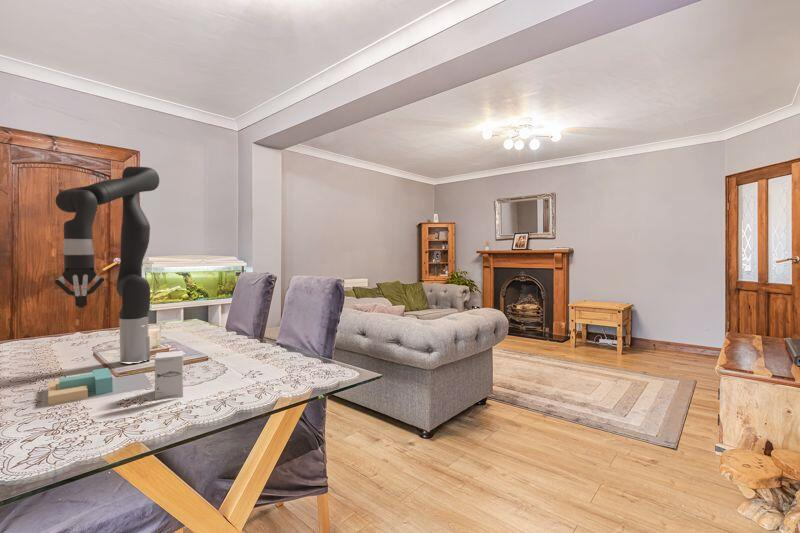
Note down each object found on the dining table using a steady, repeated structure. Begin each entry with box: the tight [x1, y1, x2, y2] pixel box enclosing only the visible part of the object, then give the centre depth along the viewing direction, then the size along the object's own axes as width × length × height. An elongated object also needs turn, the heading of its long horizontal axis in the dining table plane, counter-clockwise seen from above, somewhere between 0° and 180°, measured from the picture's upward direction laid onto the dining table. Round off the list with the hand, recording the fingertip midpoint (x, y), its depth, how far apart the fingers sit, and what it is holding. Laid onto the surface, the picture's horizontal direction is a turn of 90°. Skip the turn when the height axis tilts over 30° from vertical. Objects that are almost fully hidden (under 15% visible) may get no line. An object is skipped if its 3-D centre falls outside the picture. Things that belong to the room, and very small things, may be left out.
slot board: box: [40, 372, 154, 409], centre depth 122 cm, size 26×18×4 cm
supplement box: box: [154, 350, 184, 402], centre depth 120 cm, size 7×7×13 cm
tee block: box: [58, 367, 113, 395], centre depth 120 cm, size 12×12×4 cm
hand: (81, 307), depth 128 cm, fingers closed
